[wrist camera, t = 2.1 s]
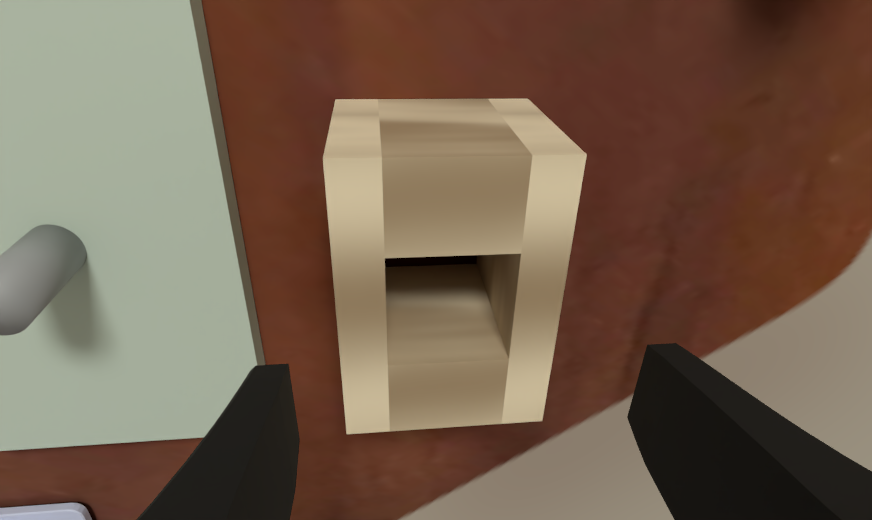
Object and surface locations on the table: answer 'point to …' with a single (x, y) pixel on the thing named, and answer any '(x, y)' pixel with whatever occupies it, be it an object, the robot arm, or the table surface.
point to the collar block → (448, 236)
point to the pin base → (116, 227)
